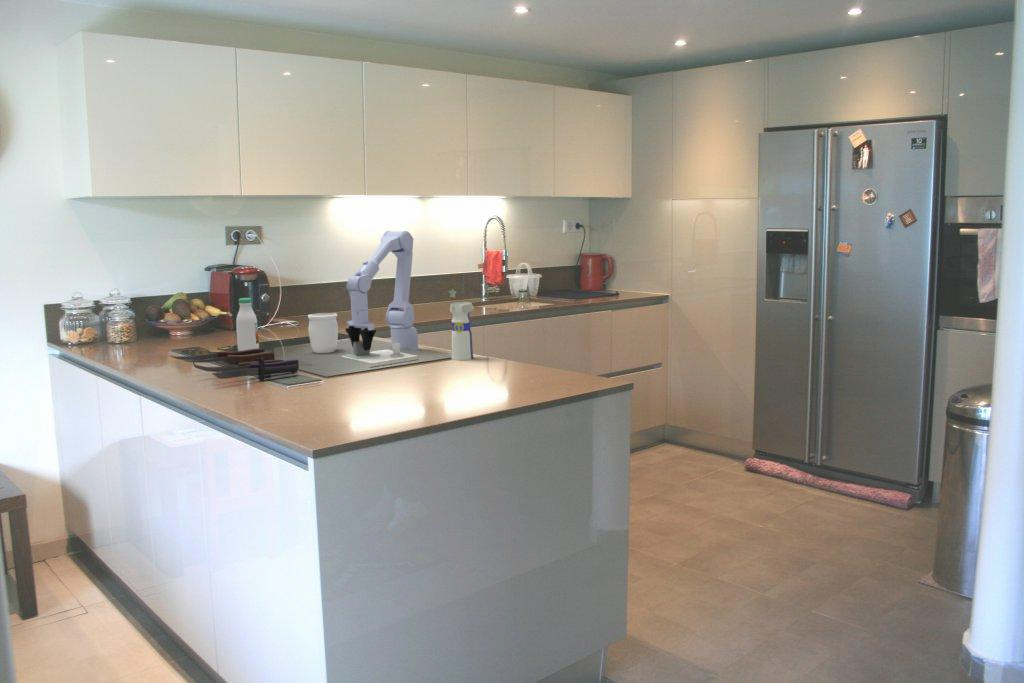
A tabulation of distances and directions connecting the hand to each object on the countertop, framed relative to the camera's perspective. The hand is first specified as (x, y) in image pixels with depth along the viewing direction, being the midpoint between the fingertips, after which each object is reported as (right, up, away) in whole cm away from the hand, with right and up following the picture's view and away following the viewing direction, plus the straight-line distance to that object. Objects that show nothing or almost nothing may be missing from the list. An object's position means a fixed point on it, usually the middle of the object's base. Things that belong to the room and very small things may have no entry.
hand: (361, 348), depth 291 cm
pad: (0, -3, 0) cm, 2 cm away
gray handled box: (0, -2, 0) cm, 2 cm away
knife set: (-36, -8, -20) cm, 42 cm away
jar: (-16, -3, +12) cm, 20 cm away
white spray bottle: (+35, -4, 0) cm, 36 cm away
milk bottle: (-47, -1, +25) cm, 54 cm away
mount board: (+6, -4, 0) cm, 8 cm away
